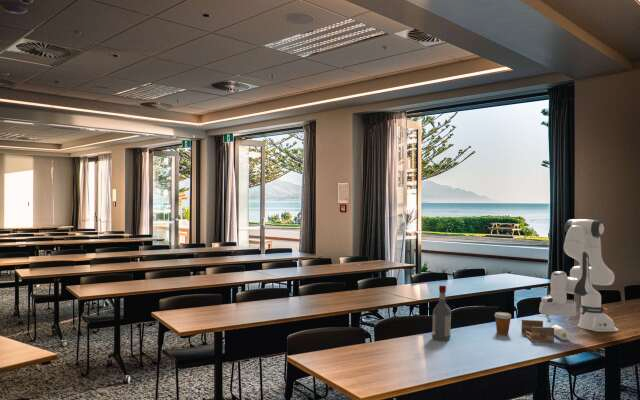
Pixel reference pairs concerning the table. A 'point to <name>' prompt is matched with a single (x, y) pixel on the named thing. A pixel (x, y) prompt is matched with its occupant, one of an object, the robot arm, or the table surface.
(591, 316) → the robot arm
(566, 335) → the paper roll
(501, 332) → the disposable coffee cup
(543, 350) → the table surface
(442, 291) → the liquor
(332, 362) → the table surface
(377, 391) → the table surface
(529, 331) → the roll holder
